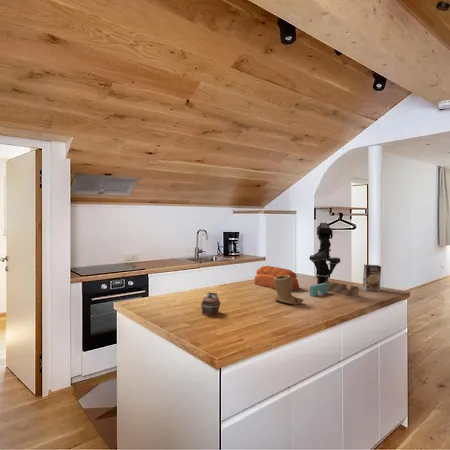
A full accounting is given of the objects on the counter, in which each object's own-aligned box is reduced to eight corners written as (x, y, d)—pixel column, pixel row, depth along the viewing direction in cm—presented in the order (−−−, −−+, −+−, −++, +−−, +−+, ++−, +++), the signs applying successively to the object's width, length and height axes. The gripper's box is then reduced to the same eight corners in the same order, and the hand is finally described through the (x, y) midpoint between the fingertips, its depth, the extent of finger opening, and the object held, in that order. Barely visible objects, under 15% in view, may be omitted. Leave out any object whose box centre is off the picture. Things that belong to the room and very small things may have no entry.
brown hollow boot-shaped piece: (268, 301, 195) (269, 274, 194) (283, 298, 202) (283, 272, 201) (289, 307, 183) (289, 279, 182) (304, 303, 190) (304, 276, 189)
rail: (324, 290, 222) (324, 281, 222) (326, 290, 223) (326, 280, 223) (356, 297, 205) (356, 287, 205) (358, 296, 206) (358, 286, 206)
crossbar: (312, 296, 206) (312, 286, 206) (309, 296, 207) (309, 286, 207) (327, 292, 215) (327, 283, 215) (324, 292, 217) (324, 282, 217)
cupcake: (201, 310, 177) (201, 290, 176) (220, 310, 176) (220, 291, 176) (199, 316, 167) (199, 295, 167) (219, 316, 167) (219, 295, 166)
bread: (267, 281, 251) (267, 263, 250) (302, 289, 227) (302, 269, 226) (251, 284, 241) (251, 265, 241) (286, 292, 217) (286, 271, 216)
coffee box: (365, 291, 221) (366, 266, 221) (362, 288, 228) (363, 264, 227) (380, 291, 220) (381, 266, 220) (377, 289, 227) (377, 264, 226)
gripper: (304, 247, 215) (303, 272, 216) (330, 250, 201) (329, 276, 202) (315, 246, 223) (314, 270, 223) (341, 248, 208) (340, 274, 209)
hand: (324, 272), depth 214 cm, fingers open, 9 cm apart
